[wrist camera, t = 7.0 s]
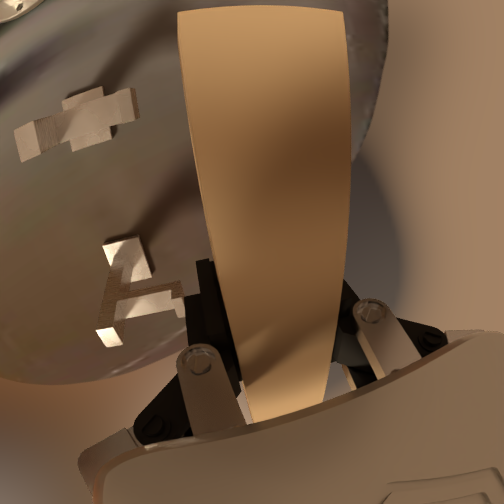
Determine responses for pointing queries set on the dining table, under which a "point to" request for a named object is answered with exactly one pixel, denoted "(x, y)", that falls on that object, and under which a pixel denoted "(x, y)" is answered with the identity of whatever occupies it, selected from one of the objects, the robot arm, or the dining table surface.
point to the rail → (273, 185)
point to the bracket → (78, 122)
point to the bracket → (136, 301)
